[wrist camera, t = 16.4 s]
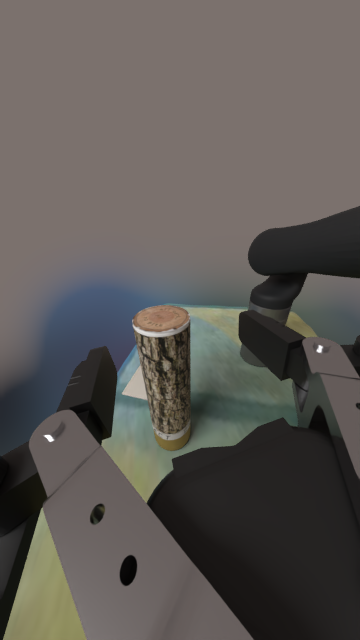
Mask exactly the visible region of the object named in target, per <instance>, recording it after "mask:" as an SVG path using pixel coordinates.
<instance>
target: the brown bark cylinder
mask: <svg viewBox="0 0 360 640" xmlns="http://www.w3.org/2000/svg"><path fill="white" fill-rule="evenodd" d="M133 328H134V333H135V338H136V343H137V349H138V354H139V359H140V364H141V369H142V374H143V379H144V384H145V389H146V394H147V399H148V404H149V409H150V414H151V420H152V425H153V429H154V434H155V438H156V441H157V443H158V444H159V445H160V446H161V447H162V448H163V449H165V450H169V451H174V450H178V449H180V448H182V447H183V446H184V445H185V444H186V443H187V441H188V439H189V436H190V315H189V313H188V312H187V311H186V310H185V309H183V308H180V307H177V306H170V305H161V306H154V307H150V308H147V309H144V310H142V311H140V312H138V313H137V314H136V315H135V316H134V318H133Z"/></svg>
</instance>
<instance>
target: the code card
mask: <svg viewBox="0 0 360 640" xmlns="http://www.w3.org/2000/svg"><path fill="white" fill-rule="evenodd" d="M122 394H123V395H127V396H131V397H136V398H140V399H145V400H148V399H147V394H146V389H145V384H144V379H143V374H142V369H141V365H140V366H139V368H138V369H137V371H136V372H135V374H134V375H133V377H132V379H131V380H130V382H129V383H128V385H127V386H126V388H125V390H124V391H123V393H122Z"/></svg>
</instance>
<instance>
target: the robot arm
mask: <svg viewBox="0 0 360 640" xmlns="http://www.w3.org/2000/svg"><path fill="white" fill-rule="evenodd" d="M248 260H249V264H250V266H251V267H252V269H253V270H254V271H255V272H257V273H258V274H261V275H264V276H270V277H269V278H268V279H267V280H266V281H265V282H263V283H262V284H260V285H258V286H256V287H255V288H254V289H253V290H252V292H251V297H250V302H249V307H248V311H244V312H241V313H240V314H239V338H240V341H241V342H242V345H241V350H240V355H241V357H242V358H243V359H244V360H245V361H246V362H248V363H249V364H252V365H254V366H259V367H267V368H268V369H269V370H270V371H271V372H272V373H273V374H274V375H276V376H277V377H278V378H279V379H280V380H281V381H282V380H285V379H288V378H291V379H292V380H293V382H292V388H293V394H294V400H295V406H296V412H297V418H298V426H297V427H296V426H290V425H289V424H288V423H287V422H286V420H285V419H284V418H280V419H277V420H275V421H272V422H269V423H267V424H264V425H261V426H259V427H257V428H256V429H255V430H254V431H252V432H251V433H250V434H249V435H248V436H246V437H245V438H244V439H243V440H242V441H240V442H239V443H238V444H236V445H234V446H226V447H209V448H200V449H197V450H195V451H192V452H189V453H187V454H184V455H181V456H179V457H176V458H173V459H172V463H173V468H174V470H172V471H171V472H170V473H169V474H167V475H166V476H165V478H164V479H163V480H162V481H161V482H160V483H159V484H158V486H157V487H156V488H155V490H154V491H153V493H152V494H151V496H150V498H149V500H148V501H147V503H146V502H145V501H144V500H143V499H142V497H141V496H140V495H139V493H138V492H137V491H136V490H135V488H134V487H133V486H132V484H131V483H130V482H129V481H128V479H127V478H126V477H125V475H124V474H123V473H122V472H121V470H120V469H119V468H118V466H117V465H116V464H115V463H114V461H113V460H112V459H111V457H110V456H109V455H108V454H107V452H106V451H105V450H104V448H103V447H102V446H101V443H102V440H103V439H106V438H109V437H111V434H112V424H113V414H114V405H115V395H116V385H117V371H116V368H115V365H114V362H113V360H112V358H111V355H110V353H109V351H108V349H107V347H106V346H104V347H99V348H95V349H92V350H90V352H89V355H88V357H87V360H86V361H82V362H81V363H80V364H79V365H78V366H77V367H76V369H75V370H74V372H73V375H72V377H71V379H70V382H69V384H68V385H69V386H67V388H66V391H65V393H64V395H63V398H62V400H61V402H60V405H59V407H58V409H57V412H56V413H55V414H53V415H51V416H50V417H48V418H47V419H46V420H44V421H43V422H42V423H41V424H40V425H39V426H38V427H37V428H36V430H35V431H34V433H33V434H32V436H31V438H30V440H29V441H28V442H26V443H24V444H23V445H21V446H19V447H18V448H15V449H14V450H12V451H10V452H8V453H7V454H5V455H3V456H0V640H3V637H4V634H5V631H6V627H7V624H8V620H9V617H10V613H11V610H12V607H13V603H14V600H15V596H16V593H17V589H18V586H19V583H20V579H21V576H22V572H23V569H24V565H25V562H26V559H27V555H28V552H29V548H30V545H31V541H32V538H33V535H34V531H35V528H36V524H37V521H38V517H39V514H40V511H41V508H42V507H43V511H44V514H45V517H46V520H47V523H48V526H49V529H50V532H51V535H52V538H53V541H54V544H55V547H56V550H57V553H58V556H59V559H60V562H61V565H62V568H63V571H64V573H65V576H66V579H67V582H68V585H69V588H70V591H71V594H72V597H73V600H74V603H75V606H76V609H77V612H78V615H79V618H80V621H81V624H82V627H83V630H84V632H85V635H86V638H87V640H360V335H359V336H358V337H357V338H356V341H355V343H354V345H339V344H337V343H335V342H334V341H331V340H329V339H325V338H321V337H308V338H306V337H304V336H302V335H301V334H299V333H297V332H295V331H294V330H292V329H290V328H289V327H287V326H285V325H286V322H287V319H288V315H289V312H290V309H291V306H292V303H293V300H294V299H295V298H296V297H297V296H298V295H299V293H300V291H301V289H302V287H303V284H304V282H305V279H306V277H307V274H308V273H316V274H323V275H332V276H341V277H351V278H360V206H359V207H356V208H353V209H350V210H347V211H344V212H341V213H338V214H335V215H332V216H329V217H327V218H324V219H321V220H318V221H314V222H311V223H307V224H302V225H297V226H291V227H285V228H273V229H268V230H266V231H264V232H262V233H261V234H259V235H258V236H257V237H256V238H255V239H254V241H253V242H252V244H251V246H250V248H249V252H248Z"/></svg>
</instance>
